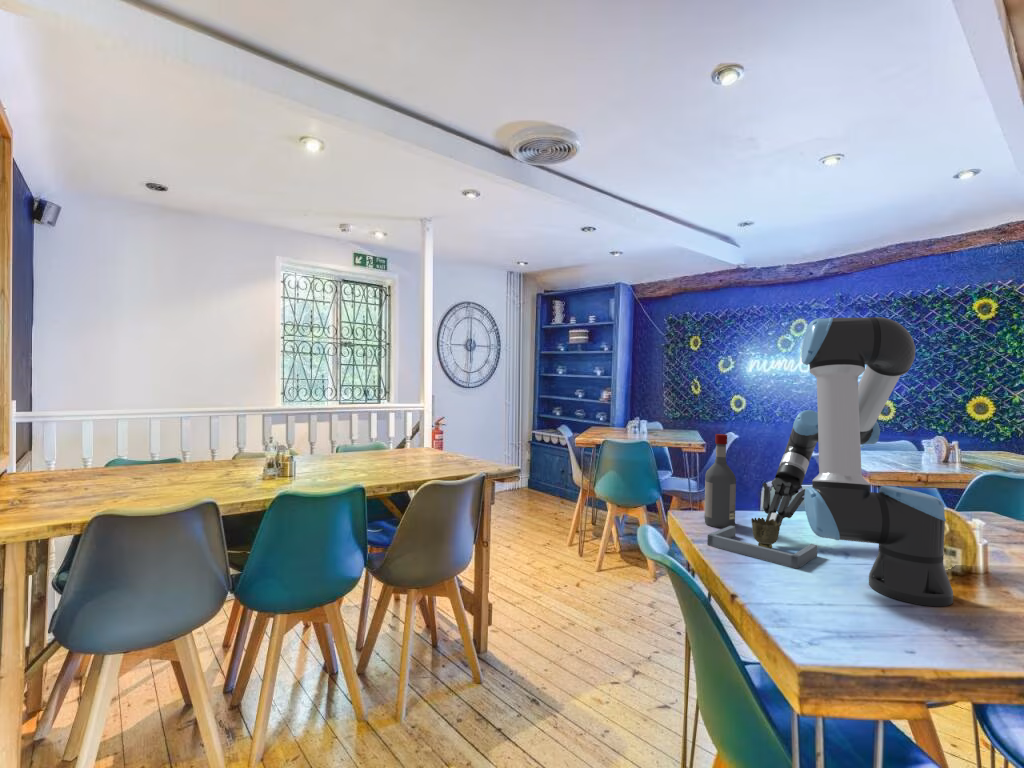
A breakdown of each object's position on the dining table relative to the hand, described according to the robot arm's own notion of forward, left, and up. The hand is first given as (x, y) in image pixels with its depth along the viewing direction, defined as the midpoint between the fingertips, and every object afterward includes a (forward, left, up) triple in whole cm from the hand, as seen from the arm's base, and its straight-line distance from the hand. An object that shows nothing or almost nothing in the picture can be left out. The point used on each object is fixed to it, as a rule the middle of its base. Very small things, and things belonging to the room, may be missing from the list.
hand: (769, 533), depth 148 cm
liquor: (+20, -10, -4) cm, 22 cm away
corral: (0, +6, -3) cm, 7 cm away
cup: (-1, +4, -4) cm, 5 cm away
